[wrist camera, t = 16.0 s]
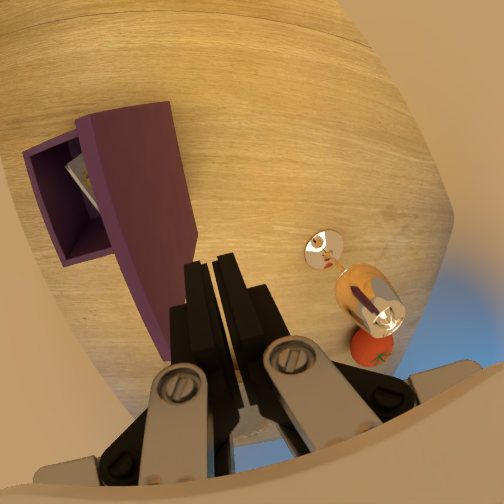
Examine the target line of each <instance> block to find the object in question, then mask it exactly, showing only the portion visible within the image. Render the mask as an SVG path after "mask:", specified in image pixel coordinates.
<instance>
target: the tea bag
mask: <svg viewBox="0 0 504 504" xmlns="http://www.w3.org/2000/svg"><path fill="white" fill-rule="evenodd" d="M67 165H68V166H65V167H66V169H67V170H68V171H69V173H70V174H71V176H72V177H73V178H74V180H75V181H76V182H77V184H78V185H79V186H80V188H81V189H82V190H83V192H84V193H85V194H86V196H87V197H88V198H89V200H90V201H91V202H92V204H93V205H94V206H95V208H96V209H97V210H98V211H99V208H98V205H97V202H96V199H95V196H94V193H93V189H92V186H91V183H90V179H89V176H88V172H87V169H86V165H85V161H84V158H83V154H82V153H81V154H80V155H79V156H77V157H76V158H75V159H73V160H72V161H71V162H69V163H68V164H67ZM99 213H100V211H99Z"/></svg>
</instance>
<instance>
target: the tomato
mask: <svg viewBox="0 0 504 504" xmlns="http://www.w3.org/2000/svg"><path fill="white" fill-rule="evenodd" d="M392 348H393V337H392V334H390V335H388V336H386V337H383V338H374V337H373V336H371V335H370V334H369V333H367V332H366V331H365V330H363V329H362V328H361V329H360V330H358V331H357V332H356V334H355V335H354V337H353V339H352V341H351V345H350V351H351V355H352V357H353V359H354V360H355V361H356V362H357V363H358V364H359V365H362V366H365V367H372V366H373V367H374V366H376V365H378V364H381V363H382V362H385V360H386V359H387V358H388V356H390V353H391V351H392Z"/></svg>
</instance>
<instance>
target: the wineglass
mask: <svg viewBox="0 0 504 504" xmlns="http://www.w3.org/2000/svg"><path fill="white" fill-rule="evenodd" d="M343 248H344V243H343V239H342V237H341V235H340V234H339V233H337V232H335V231H332V230H325V231H321V232H319V233H317V234H316V235H314V236H313V237H312V238H311V239H310V240H309V242H308V244H307V246H306V248H305V260H306V262H307V264H308V265H309V266H311V267H312V268H315V269H325V268H328V267H330V266H332V265H333V264H335V265H336V266H337V267H338V268H339V270H340V271H341V272H342V273H341V274H340V275H339V277H338V279H337V281H336V285H335V298H336V301H337V303H338V305H339V307H340V308H341V310H342V311H343V312H344V313H345V314H346V315H347V316H348V317H349V318H350V319H351V320H352V321H353V322H355V323H356V324H357V325H358V326H359V327H361V328H362V329H363V330H365V331H366V332H367V333H369V334H370V335H371V336H373V337H374V338H383V337H386V336H388V335H390V334H391V333H393V332H394V331H395V330H396V329H397V328H398V327H399V326H400V324H401V323H402V321H403V319H404V317H405V308H404V306H403V304H402V302H401V300H400V298H399V296H398V295H397V293H396V291H395V290H394V288H393V286H392V285H391V283H390V282H389V280H388V279H387V278H386V277H385V275H384V274H383V273H382V272H381V271H380V270H379V269H377V268H376V267H374V266H373V265H370V264H366V263H359V264H353V265H351V266H349V267H347V268H346V269H345V268H344V267H343V266H342V265H341V264H340V263H339V262H338V259H339V258H340V256H341V254H342V252H343Z"/></svg>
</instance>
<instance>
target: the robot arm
mask: <svg viewBox="0 0 504 504" xmlns="http://www.w3.org/2000/svg"><path fill="white" fill-rule="evenodd" d="M217 258H218V261H214V262H212V265H213V269H214V273H215V278H216V282H217V286H218V290H219V294H220V298H221V302H222V306H223V310H224V314H225V318H226V322H227V326H228V330H229V334H230V338H231V342H232V345H233V349H234V353H235V356H236V360H237V363H238V367H239V370H240V374H241V377H242V380H243V384H244V387H245V391H246V394H247V397H248V401H249V404H250V406H254V405H257V406H258V409H259V413H260V414H261V416H262V417H264V418H267V419H269V420H272V421H274V422H275V424H276V427H277V429H278V430H279V432H280V434H281V436H282V437H283V439H284V441H285V443H286V444H287V446H288V448H289V449H290V451H291V453H292V454H293V456H294V459H291V460H287V461H283V462H280V463H277V464H273V465H269V466H266V467H261V468H257V469H253V470H249V471H244V472H240V473H235V461H234V445H233V435H232V431H233V430H234V428H235V427H236V426H237V424H238V423H239V422H240V421H239V419H241V418H240V414H239V411H238V409H242V408H245V407H244V403H243V400H242V396H241V392H240V388H239V385H238V381H237V377H236V373H235V369H234V365H233V362H232V358H231V354H230V350H229V346H228V342H227V338H226V333H225V329H224V326H223V322H222V318H221V315H220V311H219V307H218V304H217V300H216V296H215V293H214V289H213V285H212V281H211V277H210V274H209V270H208V266H207V263H205V264H201V263H200V260H199V261H195V262H191V263H187V264H184V278H185V291H186V304H181V305H177V306H173V307H170V309H169V320H170V352H171V365H170V366H168V367H166V368H164V369H163V370H162V371H160V372H159V373H158V374H157V376H156V377H155V378H154V380H153V383H152V386H151V392H150V398H149V404H148V408H147V409H146V410H145V411H144V412H143V413H142V414H141V415H140V416H139V417H138V418H137V419H136V420H135V421H134V422H133V423H132V424H131V425H130V426H129V427H128V428H127V429H126V430H125V431H124V432H123V433H122V434H121V435H120V436H119V437H118V438H117V439H116V440H115V441H114V442H113V443H112V444H111V445H110V447H108V448H107V449H106V450H105V452H104V453H103V454H102V456H101V457H98V458H96V457H95V456H89V457H85V458H81V459H76V460H72V461H67V462H63V463H58V464H53V465H48V466H44V467H42V468H40V469H39V470H38V471H37V472H36V473H35V475H34V477H33V484H21V485H16V486H11V487H8V488H5V489H2V490H0V504H504V362H500V363H497V364H494V365H491V366H489V367H486V368H484V369H483V368H482V367H481V365H480V364H478V363H476V362H475V361H472V360H468V359H467V360H460V361H457V362H454V363H451V364H448V365H445V366H441V367H438V368H434V369H431V370H427V371H424V372H420V373H416V374H412V375H409V377H408V379H406V380H401V379H398V378H396V377H392V376H388V375H384V374H380V373H376V372H372V371H368V370H364V369H360V368H356V367H352V366H349V365H345V364H341V363H338V362H334V361H331V360H330V359H329V358H328V357H327V355H326V354H325V353H324V352H323V351H322V349H321V348H320V347H319V346H318V345H317V344H316V343H315V342H314V341H313V340H311V339H309V338H306V337H303V336H297V335H295V336H291V335H290V333H289V331H288V329H287V327H286V325H285V323H284V321H283V319H282V316H281V314H280V312H279V310H278V308H277V306H276V304H275V302H274V300H273V298H272V296H271V294H270V292H269V290H268V288H267V286H266V285H265V284H263V285H259V286H255V287H251V288H246V285H245V283H244V280H243V278H242V275H241V272H240V270H239V267H238V264H237V262H236V259H235V256H234V254H233V253H228V254H224V255H220V256H217Z"/></svg>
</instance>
